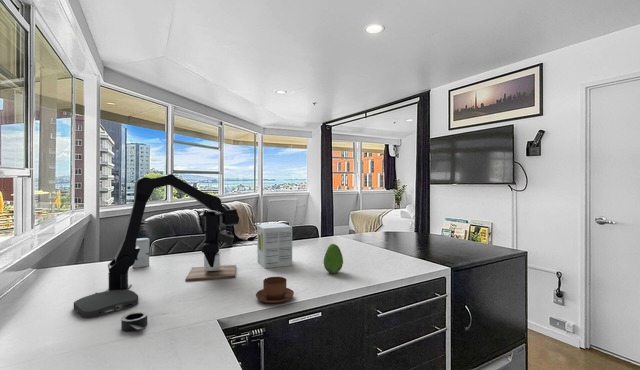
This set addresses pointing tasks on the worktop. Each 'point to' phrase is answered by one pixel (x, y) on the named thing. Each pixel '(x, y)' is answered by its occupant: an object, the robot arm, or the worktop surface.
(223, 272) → the post stand
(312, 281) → the worktop surface
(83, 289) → the worktop surface
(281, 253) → the supplement box
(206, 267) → the white cube
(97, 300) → the media streaming box
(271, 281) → the cup and saucer
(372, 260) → the worktop surface
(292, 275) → the worktop surface
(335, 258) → the avocado
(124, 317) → the duct tape
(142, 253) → the skincare box
